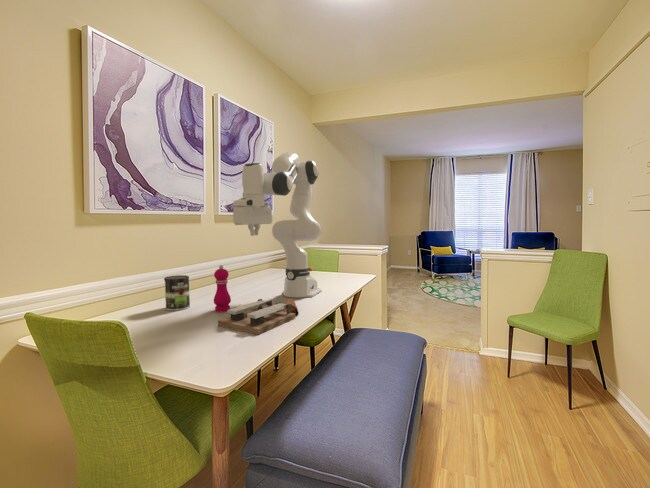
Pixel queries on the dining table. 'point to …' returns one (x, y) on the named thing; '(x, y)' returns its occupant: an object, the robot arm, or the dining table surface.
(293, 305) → the sunglasses case
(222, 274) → the pepper mill
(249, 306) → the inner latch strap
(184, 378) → the dining table surface
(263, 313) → the strap
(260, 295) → the dining table surface
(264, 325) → the base
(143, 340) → the dining table surface
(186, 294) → the coffee can
